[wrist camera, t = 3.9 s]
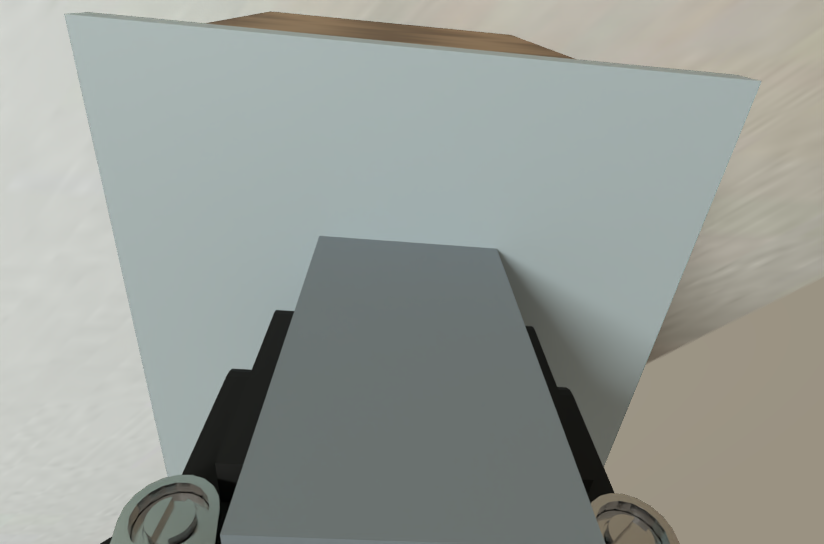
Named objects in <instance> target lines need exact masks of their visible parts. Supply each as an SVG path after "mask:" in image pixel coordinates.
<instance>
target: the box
mask: <svg viewBox="0 0 824 544" xmlns="http://www.w3.org/2000/svg"><path fill="white" fill-rule="evenodd" d="M206 24H216V25H226V26H237V27H247V28H257V29H268V30H278V31H288V32H299V33H309V34H319V35H330V36H340V37H350V38H361V39H371V40H381V41H392V42H402V43H412V44H423V45H433V46H443V47H453V48H464V49H474V50H484V51H495V52H505V53H515V54H526V55H536V56H546V57H557V58H567V59H574V58H571V57H568V56H566V55H563V54H560V53H558V52H555V51H552V50H550V49H547V48H544V47H542V46H539V45H536V44H534V43H531V42H528V41H526V40H523V39H520V38H517V37H515V36H512V35H505V34H495V33H484V32H474V31H464V30H454V29H443V28H433V27H423V26H413V25H402V24H392V23H382V22H372V21H361V20H351V19H341V18H331V17H321V16H310V15H300V14H290V13H280V12H265V13H260V14H254V15H249V16H243V17H238V18H232V19H227V20H221V21H216V22H210V23H206Z"/></svg>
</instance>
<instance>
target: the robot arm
mask: <svg viewBox="0 0 824 544" xmlns="http://www.w3.org/2000/svg"><path fill="white" fill-rule="evenodd" d="M293 314H294V311H286V310H276V311H275V312H274V314H273V317H272V319H271V322H270V324H269V327H268V330H267V332H266V335H265V337H264V340H263V342H262V345H261V347H260V350H259V352H258V355H257V358H256V360H255V363H254V365H253V368H252V370H249V369H231V370H230V371H229V372H228V374H227V376H226V378H225V380H224V382H223V385H222V387H221V389H220V391H219V393H218V396H217V398H216V400H215V402H214V404H213V407H212V409H211V411H210V413H209V416H208V418H207V420H206V422H205V424H204V427H203V429H202V431H201V433H200V435H199V438H198V440H197V442H196V444H195V447H194V449H193V451H192V453H191V455H190V458H189V460H188V462H187V464H186V466H185V469H184V471H183V473H182V475H175V476H171V477H166V478H162V479H160V480H158V481H156V482H154V483H152V484H149V485H148V486H146V487H145V488H144V489H142V490H141V491H139V492H138V493H137V494H135V495H134V496H133V498H132V499H131V500H130V501H129V502H128V503H127V504H126V505H125V507H124V508H123V510H122V512H121V514H120V516H119V518H118V520H117V523H116V526H115V529H114V533H113V536H112V537H111V538H109V539H107V540H106V541H104V542H102V543H101V544H221V538H220V533H221V530H222V527H223V524H224V521H225V518H226V515H227V512H228V509H229V506H230V503H231V500H232V497H233V494H234V491H235V488H236V485H237V482H238V479H239V476H240V473H241V470H242V467H243V464H244V461H245V458H246V455H247V452H248V449H249V446H250V443H251V440H252V437H253V434H254V431H255V428H256V425H257V422H258V419H259V416H260V413H261V410H262V407H263V404H264V401H265V398H266V395H267V392H268V389H269V386H270V383H271V380H272V377H273V374H274V371H275V368H276V365H277V362H278V359H279V356H280V353H281V350H282V347H283V344H284V341H285V338H286V335H287V332H288V329H289V326H290V323H291V320H292V317H293ZM525 327H526V330H527V332H528V335H529V338H530V340H531V343H532V346H533V349H534V351H535V354H536V357H537V359H538V362H539V365H540V368H541V370H542V373H543V376H544V378H545V381H546V384H547V387H548V389H549V392H550V395H551V397H552V400H553V403H554V406H555V408H556V411H557V414H558V416H559V419H560V422H561V425H562V427H563V430H564V433H565V435H566V438H567V441H568V444H569V446H570V449H571V452H572V455H573V457H574V460H575V463H576V465H577V468H578V471H579V474H580V476H581V479H582V482H583V484H584V487H585V490H586V493H587V495H588V498H589V501H590V503H591V506H592V509H593V512H594V514H595V517H596V520H597V522H598V525H599V528H600V531H601V533H602V536H603V539H604V541H605V544H679V541H678V539H677V537H676V535H675V533H674V531H673V529H672V527H671V526H670V525H669V524H668V522H667V521H666V520H665V519H664V517H663V516H662V515H661V514H659V513H658V512H657V511H656V510H655V509H654V508H652V507H651V506H650V505H648V504H646V503H644V502H643V501H641V500H639V499H637V498H634V497H631V496H628V495H625V494H615V493H614V491H613V488H612V486H611V484H610V481H609V479H608V477H607V474H606V472H605V469H604V467H603V465H602V462H601V460H600V458H599V455H598V453H597V450H596V448H595V446H594V443H593V441H592V439H591V436H590V434H589V432H588V429H587V427H586V424H585V422H584V420H583V417H582V415H581V413H580V410H579V408H578V405H577V403H576V401H575V398H574V396H573V394H572V392H571V391H570V389H568V388H567V387H557V385H556V382H555V380H554V377H553V375H552V372H551V370H550V367H549V365H548V362H547V359H546V357H545V354H544V352H543V349H542V347H541V344H540V341H539V339H538V336H537V334H536V331H535V329H534V327H532V326H525Z"/></svg>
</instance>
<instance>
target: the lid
mask: <svg viewBox="0 0 824 544" xmlns="http://www.w3.org/2000/svg"><path fill="white" fill-rule="evenodd" d="M64 15H65V20H66V24H67V28H68V33H69V37H70V42H71V46H72V51H73V55H74V60H75V64H76V69H77V73H78V78H79V82H80V87H81V91H82V96H83V100H84V105H85V109H86V113H87V118H88V122H89V127H90V131H91V136H92V140H93V145H94V149H95V154H96V158H97V163H98V167H99V172H100V176H101V181H102V185H103V189H104V194H105V198H106V203H107V207H108V212H109V216H110V221H111V225H112V230H113V234H114V239H115V243H116V248H117V252H118V257H119V261H120V265H121V270H122V274H123V279H124V283H125V288H126V292H127V297H128V301H129V306H130V310H131V315H132V319H133V324H134V328H135V333H136V337H137V341H138V346H139V350H140V355H141V359H142V364H143V368H144V373H145V377H146V382H147V386H148V391H149V395H150V400H151V404H152V409H153V413H154V418H155V422H156V426H157V431H158V435H159V440H160V444H161V449H162V453H163V458H164V462H165V467H166V471H167V476H168V477H171V476H175V475H182V473H183V471H184V469H185V466H186V464H187V462H188V460H189V458H190V455H191V453H192V451H193V449H194V447H195V444H196V442H197V440H198V438H199V435H200V433H201V431H202V429H203V427H204V424H205V422H206V420H207V418H208V416H209V413H210V411H211V409H212V407H213V404H214V402H215V400H216V398H217V396H218V393H219V391H220V389H221V387H222V385H223V382H224V380H225V378H226V376H227V374H228V372H229V371H230V370H231V369H249V370H252V368H253V365H254V363H255V360H256V358H257V355H258V352H259V350H260V347H261V345H262V342H263V340H264V337H265V335H266V332H267V330H268V327H269V324H270V322H271V319H272V317H273V314H274V312H275V311H276V310H286V311H294V314H293V317H292V320H291V323H290V326H289V329H288V332H287V335H286V338H285V341H284V344H283V347H282V350H281V353H280V356H279V359H278V362H277V365H276V368H275V371H274V374H273V377H272V380H271V383H270V386H269V389H268V392H267V395H266V398H265V401H264V404H263V407H262V410H261V413H260V416H259V419H258V422H257V425H256V428H255V431H254V434H253V437H252V440H251V443H250V446H249V449H248V452H247V455H246V458H245V461H244V464H243V467H242V470H241V473H240V476H239V479H238V482H237V485H236V488H235V491H234V494H233V497H232V500H231V503H230V506H229V509H228V512H227V515H226V518H225V521H224V524H223V527H222V530H221V533H220V538H221V544H605V541H604V539H603V536H602V533H601V531H600V528H599V525H598V522H597V520H596V517H595V514H594V512H593V509H592V506H591V503H590V501H589V498H588V495H587V493H586V490H585V487H584V484H583V482H582V479H581V476H580V474H579V471H578V468H577V465H576V463H575V460H574V457H573V455H572V452H571V449H570V446H569V444H568V441H567V438H566V435H565V433H564V430H563V427H562V425H561V422H560V419H559V416H558V414H557V411H556V408H555V406H554V403H553V400H552V397H551V395H550V392H549V389H548V387H547V384H546V381H545V378H544V376H543V373H542V370H541V368H540V365H539V362H538V359H537V357H536V354H535V351H534V349H533V346H532V343H531V340H530V338H529V335H528V332H527V330H526V327H525V326H532V327H534V329H535V331H536V334H537V336H538V339H539V341H540V344H541V347H542V349H543V352H544V354H545V357H546V359H547V362H548V365H549V367H550V370H551V372H552V375H553V377H554V380H555V382H556V385H557V387H567V388H568V389H570V391H571V392H572V394H573V396H574V398H575V401H576V403H577V405H578V408H579V410H580V413H581V415H582V417H583V420H584V422H585V424H586V427H587V429H588V432H589V434H590V436H591V439H592V441H593V443H594V446H595V448H596V450H597V453H598V455H599V458H600V460H601V462H602V465H603V467H604V465H605V462H606V460H607V458H608V455H609V453H610V450H611V448H612V445H613V443H614V441H615V438H616V436H617V433H618V431H619V428H620V426H621V423H622V421H623V419H624V416H625V414H626V411H627V409H628V406H629V404H630V401H631V399H632V397H633V394H634V392H635V389H636V387H637V384H638V382H639V379H640V377H641V375H642V372H643V370H644V367H645V365H646V362H647V360H648V357H649V355H650V353H651V350H652V348H653V345H654V343H655V340H656V338H657V335H658V333H659V331H660V328H661V326H662V323H663V321H664V318H665V316H666V313H667V311H668V309H669V306H670V304H671V301H672V299H673V296H674V294H675V291H676V289H677V287H678V284H679V282H680V279H681V277H682V274H683V272H684V270H685V267H686V265H687V262H688V260H689V257H690V255H691V252H692V250H693V248H694V245H695V243H696V240H697V238H698V235H699V233H700V230H701V228H702V226H703V223H704V221H705V218H706V216H707V213H708V211H709V208H710V206H711V204H712V201H713V199H714V196H715V194H716V191H717V189H718V186H719V184H720V182H721V179H722V177H723V174H724V172H725V169H726V167H727V164H728V162H729V160H730V157H731V155H732V152H733V150H734V147H735V145H736V142H737V140H738V138H739V135H740V133H741V130H742V128H743V125H744V123H745V120H746V118H747V116H748V113H749V111H750V108H751V106H752V103H753V101H754V98H755V96H756V94H757V91H758V89H759V86H760V84H761V81H759V80H755V79H751V78H747V77H743V76H739V75H732V74H722V73H712V72H701V71H691V70H681V69H670V68H660V67H650V66H639V65H629V64H619V63H608V62H598V61H588V60H577V59H567V58H557V57H546V56H536V55H526V54H515V53H505V52H495V51H484V50H474V49H464V48H453V47H443V46H433V45H423V44H412V43H402V42H392V41H381V40H371V39H361V38H350V37H340V36H330V35H319V34H309V33H299V32H288V31H278V30H268V29H257V28H247V27H237V26H226V25H216V24H206V23H195V22H185V21H175V20H164V19H154V18H144V17H133V16H123V15H113V14H102V13H92V12H84V13H71V14H64Z"/></svg>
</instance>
